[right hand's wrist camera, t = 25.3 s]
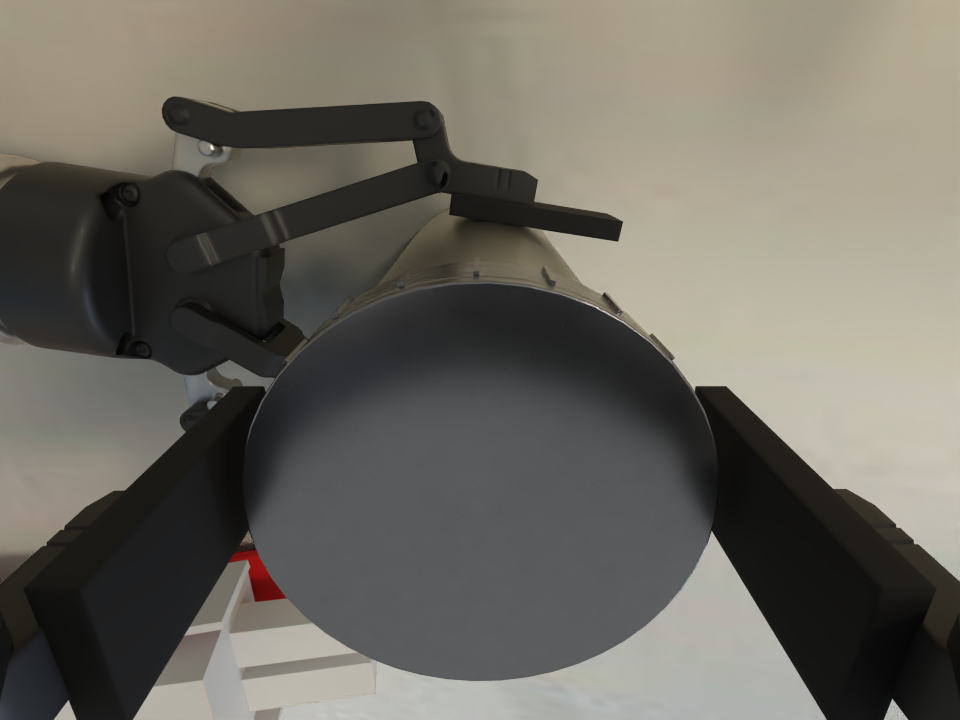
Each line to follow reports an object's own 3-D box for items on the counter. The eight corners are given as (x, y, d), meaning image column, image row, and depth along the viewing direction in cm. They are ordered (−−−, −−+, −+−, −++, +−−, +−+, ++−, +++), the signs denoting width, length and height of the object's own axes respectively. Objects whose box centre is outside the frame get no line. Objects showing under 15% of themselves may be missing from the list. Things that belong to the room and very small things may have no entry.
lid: (779, 403, 12) (829, 445, 10) (535, 669, 15) (542, 736, 13) (399, 159, 10) (382, 161, 8) (208, 520, 13) (167, 575, 11)
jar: (591, 287, 29) (759, 494, 12) (477, 385, 31) (473, 686, 14) (483, 165, 27) (490, 194, 9) (368, 280, 29) (198, 480, 11)
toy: (376, 804, 30) (-243, 908, 26) (383, 614, 42) (-37, 666, 39) (353, 644, 26) (-393, 742, 22) (368, 484, 38) (-106, 529, 34)
